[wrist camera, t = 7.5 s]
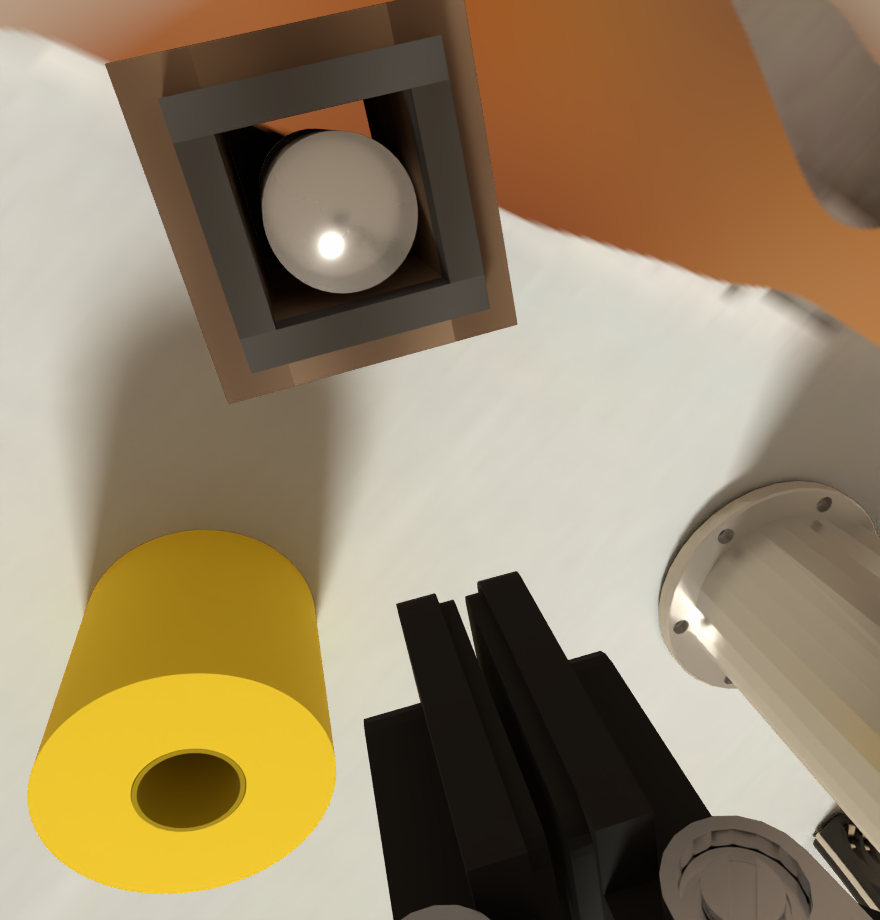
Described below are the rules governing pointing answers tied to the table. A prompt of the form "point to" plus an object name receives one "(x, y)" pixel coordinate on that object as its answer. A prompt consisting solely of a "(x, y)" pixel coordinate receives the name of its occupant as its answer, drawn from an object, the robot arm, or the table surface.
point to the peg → (337, 209)
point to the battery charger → (851, 859)
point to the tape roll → (187, 720)
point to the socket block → (391, 124)
